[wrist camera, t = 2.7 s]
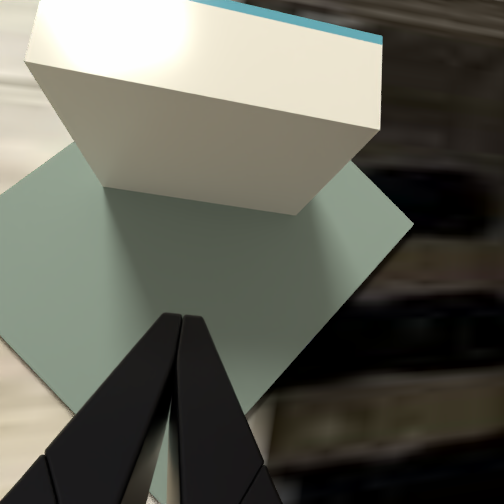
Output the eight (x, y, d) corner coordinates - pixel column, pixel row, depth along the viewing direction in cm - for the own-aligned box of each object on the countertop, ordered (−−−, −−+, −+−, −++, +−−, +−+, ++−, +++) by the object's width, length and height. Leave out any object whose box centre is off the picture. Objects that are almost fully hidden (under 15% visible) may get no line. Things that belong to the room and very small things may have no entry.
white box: (295, 215, 18) (379, 129, 10) (102, 186, 16) (23, 60, 8) (300, 158, 18) (382, 36, 10) (114, 126, 17) (51, -42, 9)
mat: (409, 226, 19) (414, 224, 19) (164, 501, 15) (163, 506, 14) (222, 38, 19) (223, 32, 19) (-72, 254, 15) (-80, 252, 14)
